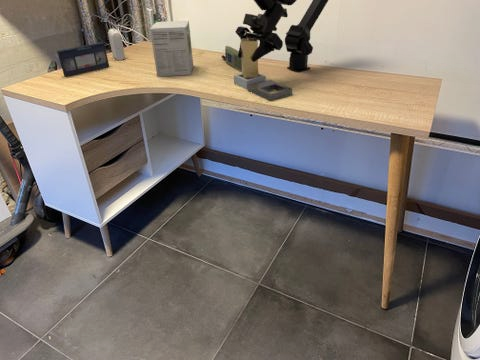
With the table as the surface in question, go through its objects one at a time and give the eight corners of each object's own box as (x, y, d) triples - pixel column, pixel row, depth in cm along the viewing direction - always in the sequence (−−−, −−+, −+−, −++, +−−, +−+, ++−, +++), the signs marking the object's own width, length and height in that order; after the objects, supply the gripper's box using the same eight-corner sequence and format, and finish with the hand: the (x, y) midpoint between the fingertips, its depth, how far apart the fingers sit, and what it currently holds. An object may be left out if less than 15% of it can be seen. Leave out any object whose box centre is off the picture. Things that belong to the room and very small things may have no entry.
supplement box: (190, 75, 144) (185, 27, 135) (156, 76, 144) (149, 28, 135) (194, 65, 155) (189, 20, 146) (162, 66, 156) (155, 21, 146)
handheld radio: (243, 75, 142) (219, 60, 162) (251, 74, 143) (226, 59, 163) (243, 57, 139) (218, 44, 158) (251, 56, 140) (225, 43, 159)
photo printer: (126, 59, 167) (120, 30, 161) (117, 61, 166) (110, 31, 159) (121, 54, 175) (115, 26, 168) (112, 56, 173) (105, 27, 167)
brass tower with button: (255, 73, 134) (255, 37, 127) (258, 77, 129) (257, 40, 123) (241, 74, 133) (240, 38, 126) (243, 78, 129) (242, 41, 122)
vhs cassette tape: (66, 77, 148) (58, 51, 142) (63, 76, 150) (56, 50, 144) (110, 67, 157) (104, 43, 152) (107, 66, 159) (102, 41, 154)
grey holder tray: (248, 91, 127) (247, 85, 126) (269, 85, 131) (269, 79, 130) (269, 101, 118) (269, 95, 117) (292, 94, 122) (292, 88, 121)
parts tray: (252, 79, 137) (252, 70, 136) (265, 84, 132) (265, 76, 130) (234, 83, 134) (233, 75, 132) (246, 89, 128) (246, 80, 126)
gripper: (238, 0, 127) (214, 40, 127) (277, 5, 115) (251, 49, 115) (255, 22, 136) (233, 59, 136) (294, 29, 123) (269, 69, 123)
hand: (245, 59), depth 127 cm, fingers closed on brass tower with button, 7 cm apart
